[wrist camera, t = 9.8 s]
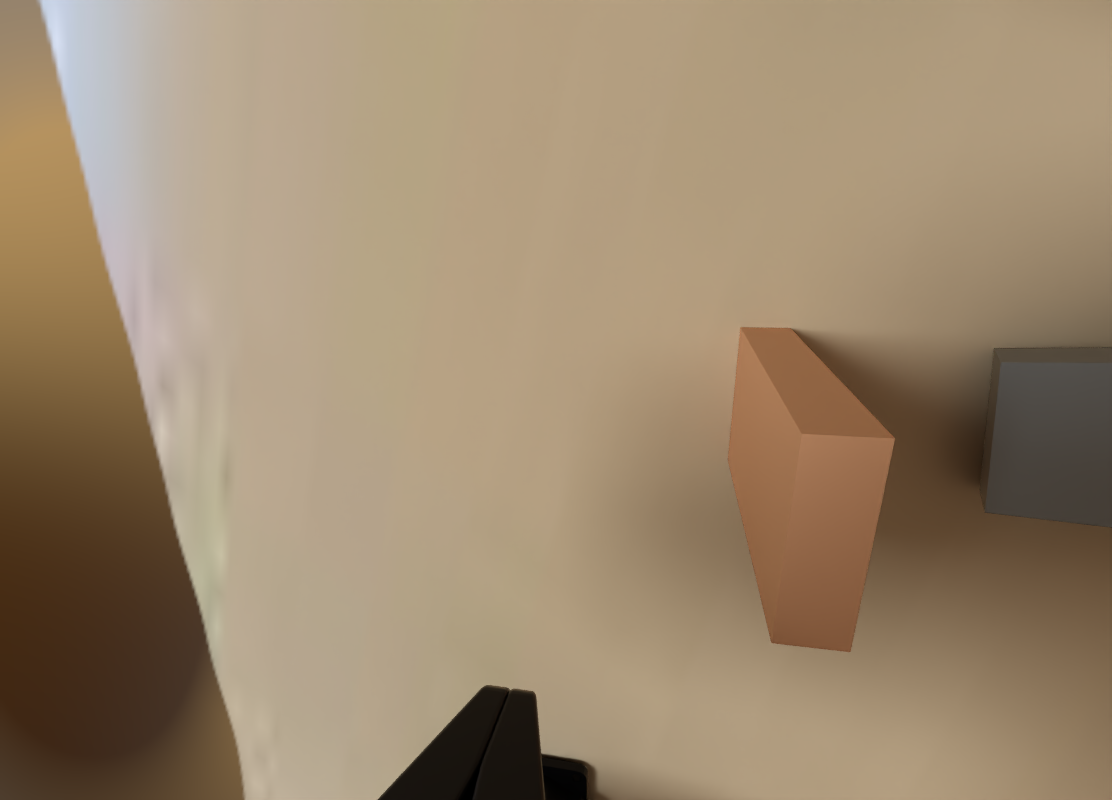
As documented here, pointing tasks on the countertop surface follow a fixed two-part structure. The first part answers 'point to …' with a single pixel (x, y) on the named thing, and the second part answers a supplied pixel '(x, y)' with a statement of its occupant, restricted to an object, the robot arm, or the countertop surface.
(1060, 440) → the domino
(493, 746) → the robot arm
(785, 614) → the domino
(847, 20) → the countertop surface
